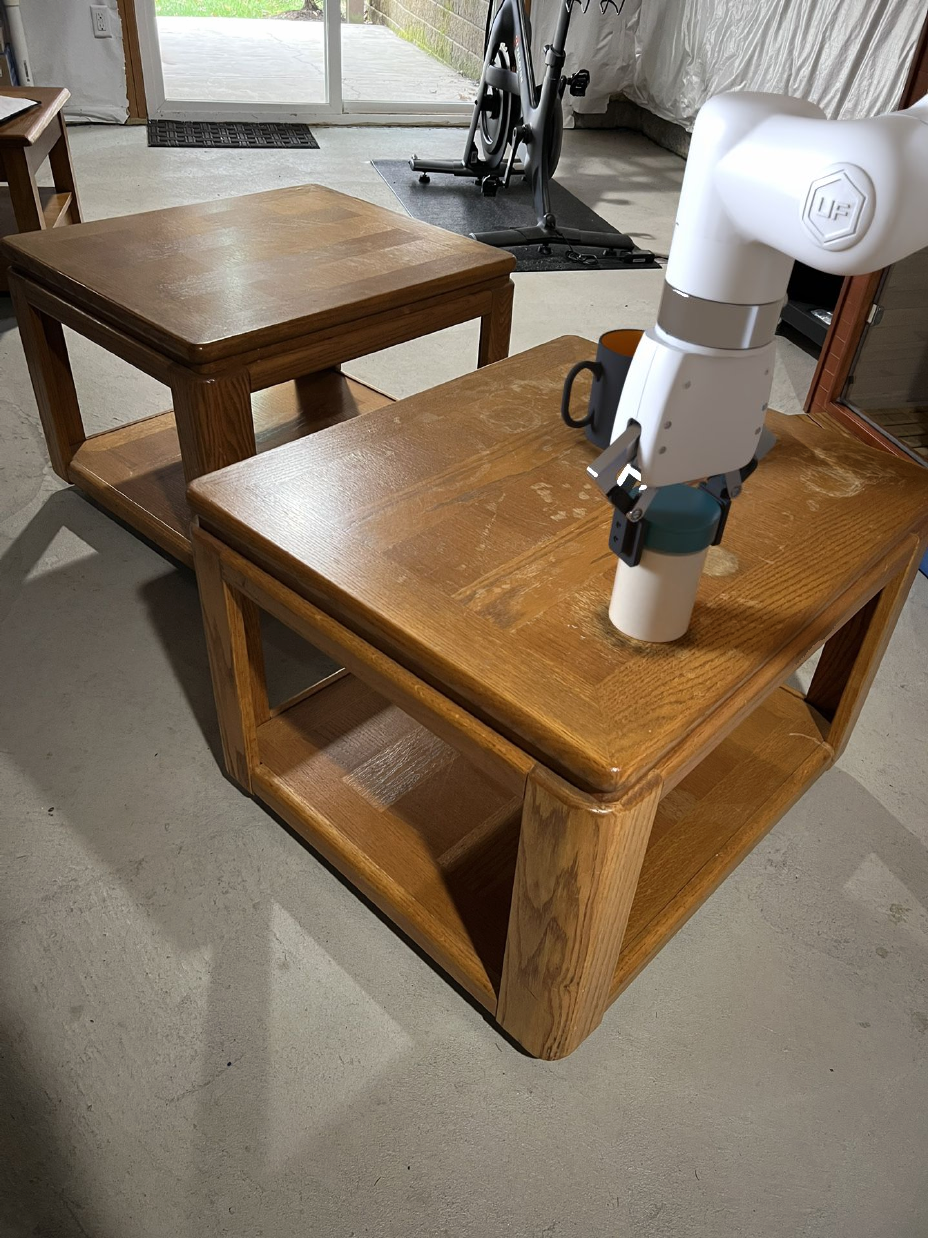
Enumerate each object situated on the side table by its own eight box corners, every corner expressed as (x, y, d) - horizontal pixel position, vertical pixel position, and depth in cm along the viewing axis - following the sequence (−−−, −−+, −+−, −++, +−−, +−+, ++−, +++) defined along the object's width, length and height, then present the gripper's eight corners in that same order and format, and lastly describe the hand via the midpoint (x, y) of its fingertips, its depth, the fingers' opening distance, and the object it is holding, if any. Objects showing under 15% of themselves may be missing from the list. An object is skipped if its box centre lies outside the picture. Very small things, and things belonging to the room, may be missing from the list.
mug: (541, 426, 101) (552, 333, 95) (639, 416, 105) (656, 325, 98) (572, 462, 95) (587, 365, 89) (675, 450, 99) (696, 356, 92)
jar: (651, 586, 78) (674, 483, 72) (705, 627, 74) (734, 522, 68) (592, 607, 75) (610, 502, 69) (644, 652, 71) (669, 544, 65)
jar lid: (605, 511, 71) (609, 487, 70) (681, 498, 73) (687, 475, 72) (653, 560, 66) (658, 535, 65) (733, 545, 68) (740, 520, 67)
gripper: (779, 283, 66) (721, 502, 77) (572, 308, 59) (540, 544, 70) (858, 319, 61) (784, 549, 72) (642, 352, 54) (595, 600, 65)
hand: (664, 545), depth 71 cm, fingers closed on jar lid, 6 cm apart
